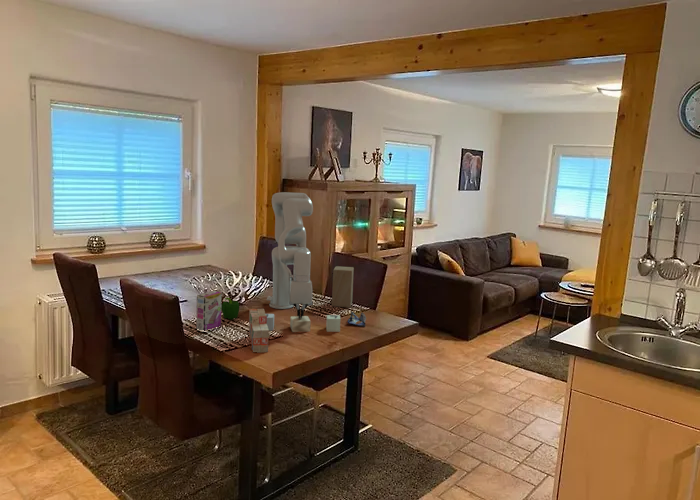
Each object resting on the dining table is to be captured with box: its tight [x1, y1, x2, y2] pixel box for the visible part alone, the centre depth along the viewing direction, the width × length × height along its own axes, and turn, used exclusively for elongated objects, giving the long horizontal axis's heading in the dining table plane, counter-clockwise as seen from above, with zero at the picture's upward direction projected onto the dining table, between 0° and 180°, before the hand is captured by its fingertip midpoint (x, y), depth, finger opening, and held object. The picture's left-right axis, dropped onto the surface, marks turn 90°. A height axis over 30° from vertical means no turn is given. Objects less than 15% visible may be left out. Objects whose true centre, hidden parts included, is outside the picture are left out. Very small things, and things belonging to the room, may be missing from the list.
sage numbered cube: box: [325, 314, 341, 333], centre depth 247 cm, size 6×6×6 cm
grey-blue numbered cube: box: [265, 313, 275, 331], centre depth 244 cm, size 6×6×6 cm
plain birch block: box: [289, 315, 312, 333], centre depth 245 cm, size 8×8×5 cm
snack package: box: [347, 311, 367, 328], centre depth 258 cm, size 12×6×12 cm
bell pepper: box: [221, 297, 240, 320], centre depth 257 cm, size 8×8×10 cm
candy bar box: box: [195, 290, 223, 331], centre depth 238 cm, size 11×5×16 cm, turn 152°
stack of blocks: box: [248, 308, 270, 353], centre depth 223 cm, size 21×6×12 cm, turn 14°
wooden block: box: [331, 265, 355, 308], centre depth 289 cm, size 10×10×20 cm
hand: (300, 317), depth 245 cm, fingers closed
